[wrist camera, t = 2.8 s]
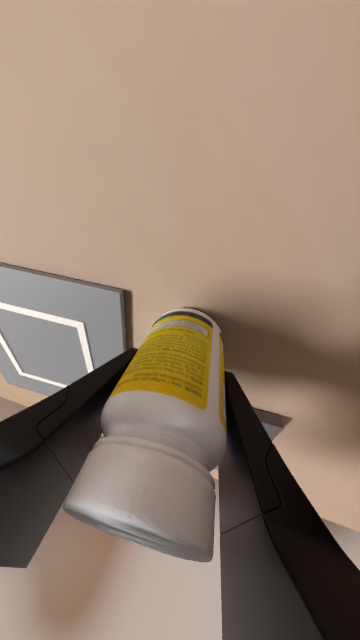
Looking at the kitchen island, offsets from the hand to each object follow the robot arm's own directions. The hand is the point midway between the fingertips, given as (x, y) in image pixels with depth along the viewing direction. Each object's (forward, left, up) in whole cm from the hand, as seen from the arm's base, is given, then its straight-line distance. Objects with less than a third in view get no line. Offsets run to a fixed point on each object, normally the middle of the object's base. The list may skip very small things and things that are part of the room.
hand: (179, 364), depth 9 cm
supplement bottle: (0, 0, -3) cm, 3 cm away
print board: (+12, +5, -2) cm, 13 cm away
